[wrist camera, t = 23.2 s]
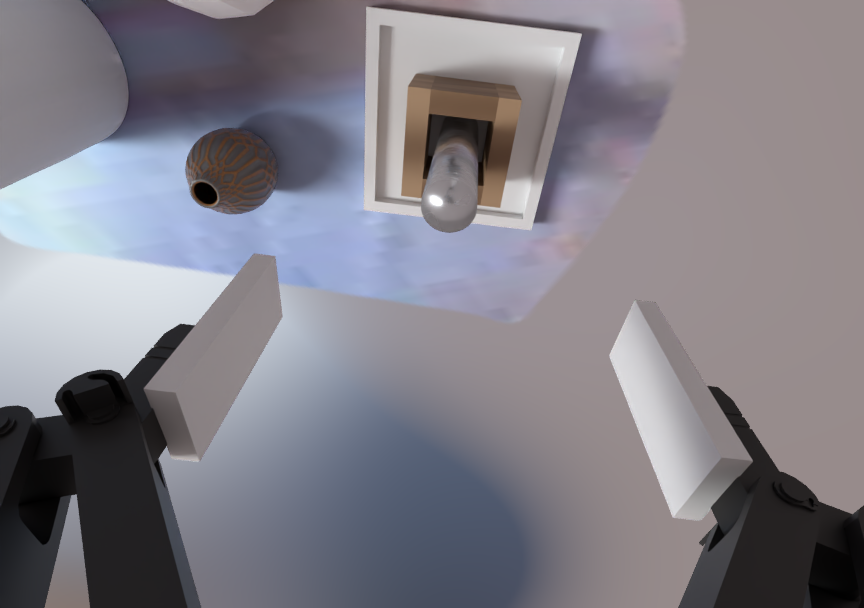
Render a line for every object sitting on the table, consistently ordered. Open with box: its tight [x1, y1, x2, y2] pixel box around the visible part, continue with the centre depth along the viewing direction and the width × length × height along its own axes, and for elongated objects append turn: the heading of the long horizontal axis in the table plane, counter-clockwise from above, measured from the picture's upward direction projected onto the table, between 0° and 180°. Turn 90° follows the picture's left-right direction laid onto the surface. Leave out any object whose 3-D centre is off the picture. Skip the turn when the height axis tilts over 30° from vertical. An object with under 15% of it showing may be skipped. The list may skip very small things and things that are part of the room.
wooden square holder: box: [401, 74, 522, 208], centre depth 35 cm, size 8×8×6 cm
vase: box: [185, 128, 278, 214], centre depth 37 cm, size 7×7×9 cm
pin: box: [421, 116, 479, 233], centre depth 31 cm, size 3×3×16 cm
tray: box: [364, 7, 582, 230], centre depth 37 cm, size 16×16×2 cm
